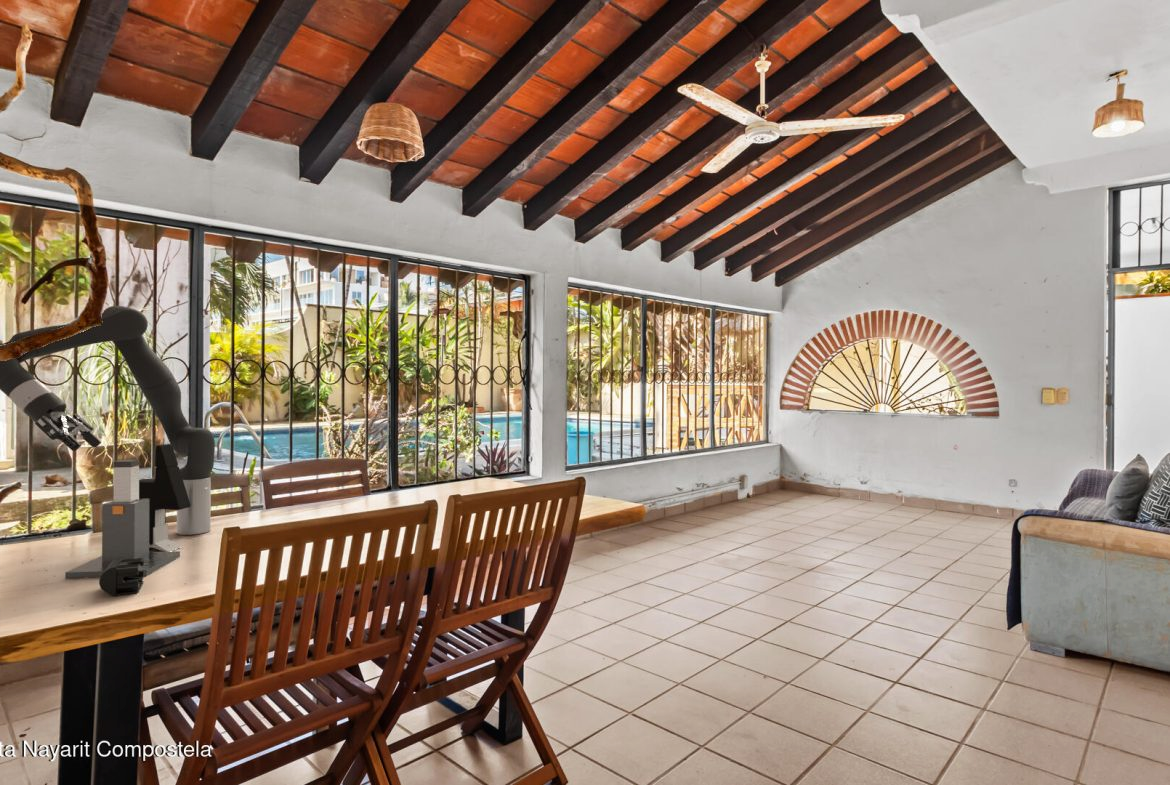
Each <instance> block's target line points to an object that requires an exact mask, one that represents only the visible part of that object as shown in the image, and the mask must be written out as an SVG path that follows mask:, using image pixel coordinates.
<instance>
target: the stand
mask: <svg viewBox="0 0 1170 785" xmlns="http://www.w3.org/2000/svg"><path fill="white" fill-rule="evenodd" d="M101 506H102V507H101V510H102V511H101V512H102V513H101V515H102V516H101V524H102V525H101V527H102V528H101V529H102V531H101V533H102V534H101V547H102V548H101V556H98V557H96V558H94V559H91V560H89V561H88V562H86V563H83V564H81V565H78V566H77V567H73V568H72V569H70V570H67V571H66V572H65V573H64V574H65V576H64V577H65V578H69V579H86V578H85V577H101V575H102V574H103V572H104V571H105V570H106V568H107V567H108V566H109V564H110V563H111V562H112V561H113V560H115V559H117V558H119V557H124V560H126V559H137V558H144V565H143V566H140V567H139V569H138V571H143V570H144V577H147V575H148V576H149V575H151V574H153V573H155V572H156V571H158V570H159V568H160V567H161V568H163V567H165V566H166V564H167V565H168V564H170V563H172V562H174V561H175V560H177V559H179V558H181V551H178V550H175V551H172V552H164V551H150V548H149V499H139V501H136V502H133V503H114V500H111V501H109V502H108V501H107V502H105V503H102V505H101ZM178 557H179V558H178ZM176 558H177V559H176ZM173 560H174V561H173ZM171 561H172V562H171ZM164 565H165V566H164ZM162 566H163V567H162ZM161 568H160V569H161ZM157 569H158V570H157ZM155 570H156V571H155ZM154 571H155V572H154ZM152 572H153V573H152Z"/></svg>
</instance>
